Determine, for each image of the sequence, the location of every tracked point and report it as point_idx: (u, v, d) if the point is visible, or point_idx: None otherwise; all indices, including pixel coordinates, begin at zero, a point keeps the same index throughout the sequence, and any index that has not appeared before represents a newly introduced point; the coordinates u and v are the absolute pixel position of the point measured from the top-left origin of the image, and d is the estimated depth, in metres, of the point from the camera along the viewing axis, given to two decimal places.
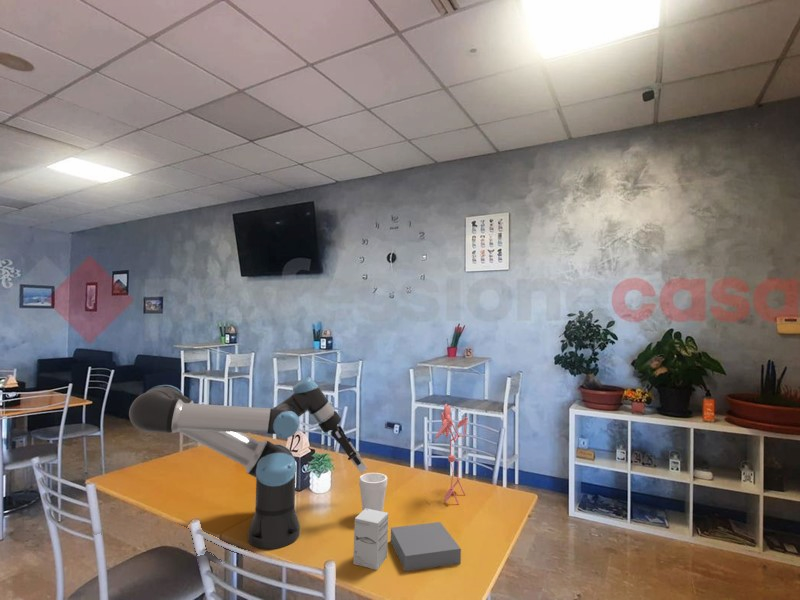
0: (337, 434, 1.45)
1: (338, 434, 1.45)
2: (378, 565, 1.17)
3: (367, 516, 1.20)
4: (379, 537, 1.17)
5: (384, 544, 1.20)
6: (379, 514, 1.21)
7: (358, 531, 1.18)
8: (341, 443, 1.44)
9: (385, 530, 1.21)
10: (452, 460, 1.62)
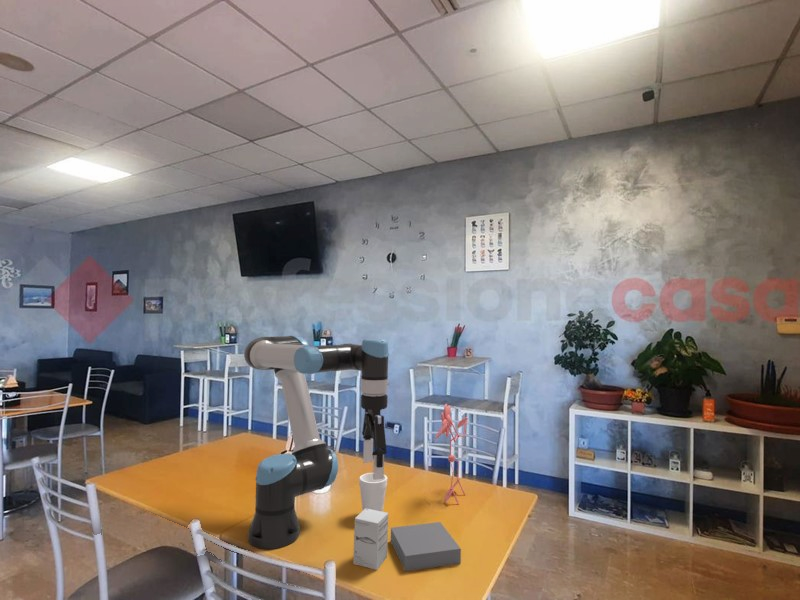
0: (379, 418, 1.16)
1: (380, 419, 1.16)
2: (378, 565, 1.17)
3: (367, 516, 1.20)
4: (379, 537, 1.17)
5: (384, 544, 1.20)
6: (379, 514, 1.21)
7: (358, 531, 1.18)
8: (377, 430, 1.14)
9: (385, 530, 1.21)
10: (452, 460, 1.62)
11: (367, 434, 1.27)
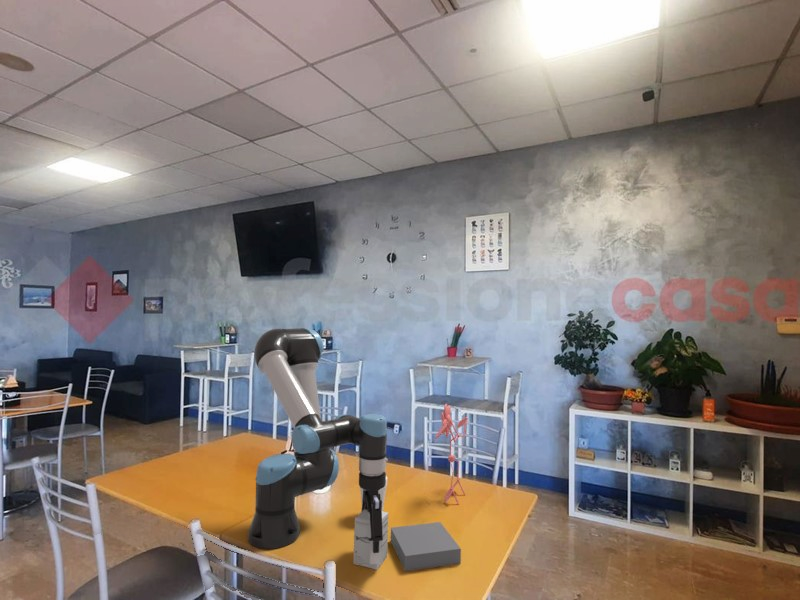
0: (376, 503, 1.14)
1: (377, 504, 1.14)
2: (378, 565, 1.17)
3: (367, 516, 1.20)
4: None
5: (384, 544, 1.20)
6: None
7: (358, 530, 1.18)
8: (374, 516, 1.14)
9: (385, 530, 1.21)
10: (452, 460, 1.62)
11: None
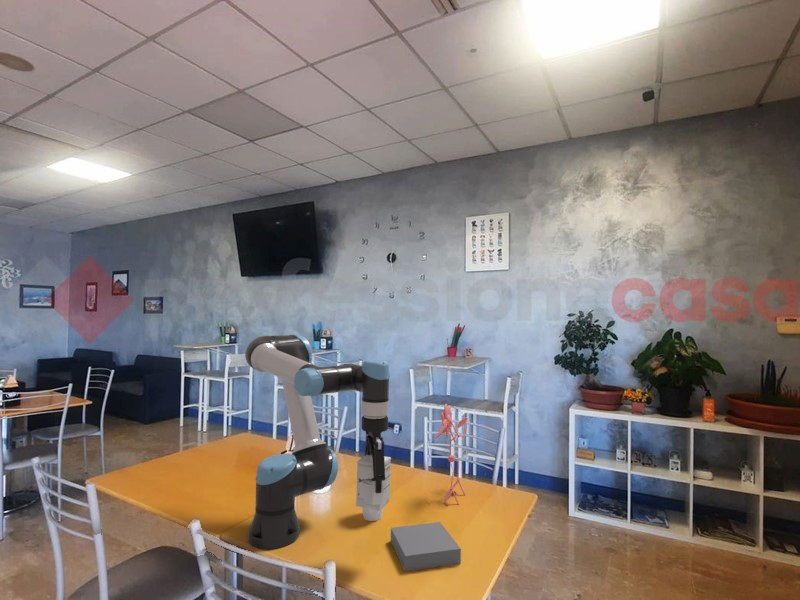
0: (379, 444, 1.15)
1: (380, 445, 1.15)
2: (381, 506, 1.17)
3: (369, 459, 1.20)
4: None
5: (387, 487, 1.21)
6: None
7: (361, 473, 1.19)
8: (377, 456, 1.14)
9: (387, 473, 1.21)
10: (452, 460, 1.62)
11: None
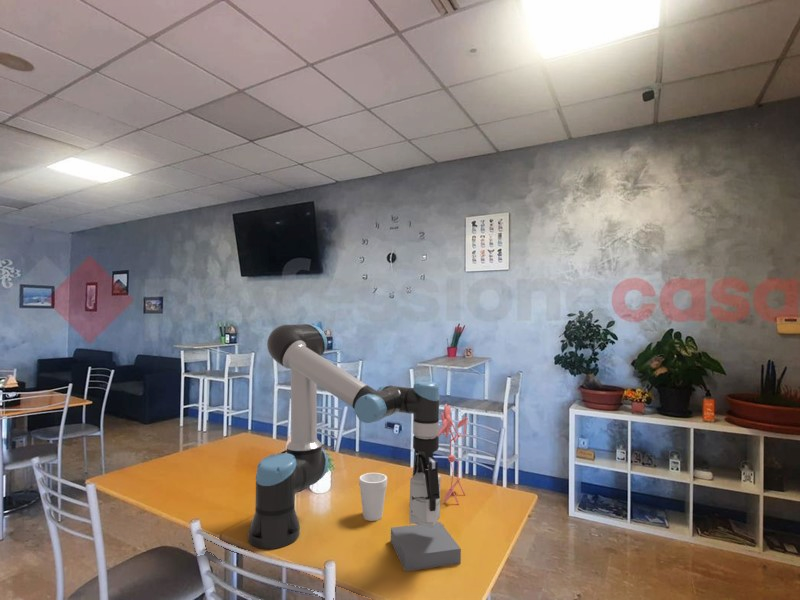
0: (433, 464, 1.20)
1: (434, 464, 1.20)
2: (434, 523, 1.22)
3: (421, 477, 1.25)
4: None
5: (438, 504, 1.26)
6: None
7: (414, 491, 1.23)
8: (431, 476, 1.19)
9: None
10: (452, 460, 1.62)
11: None
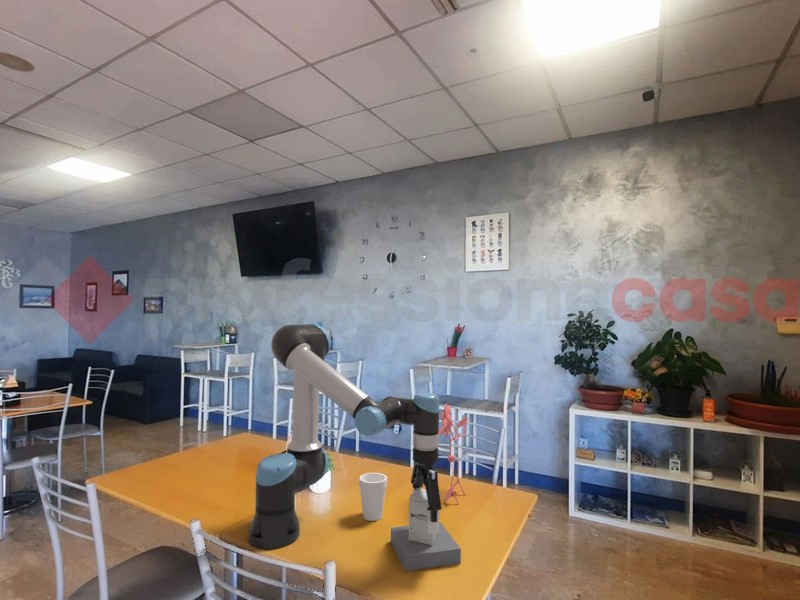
0: (433, 474, 1.20)
1: (433, 474, 1.20)
2: (433, 541, 1.22)
3: (420, 494, 1.25)
4: None
5: None
6: None
7: (413, 508, 1.23)
8: (431, 486, 1.19)
9: None
10: (452, 460, 1.62)
11: (417, 484, 1.32)
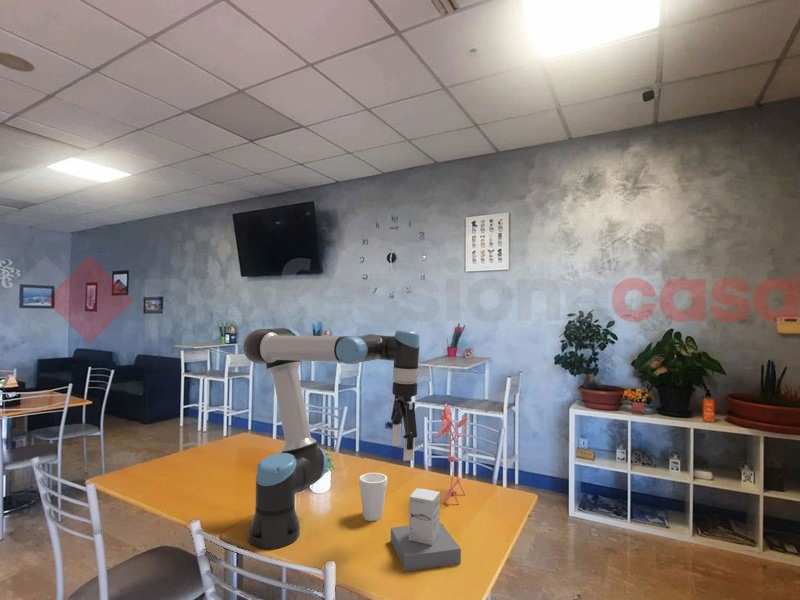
0: (410, 404, 1.24)
1: (411, 405, 1.24)
2: (433, 541, 1.22)
3: (420, 494, 1.25)
4: (433, 513, 1.22)
5: (437, 521, 1.26)
6: (432, 493, 1.26)
7: (413, 508, 1.23)
8: (408, 415, 1.23)
9: (438, 508, 1.26)
10: (452, 460, 1.62)
11: (396, 419, 1.36)
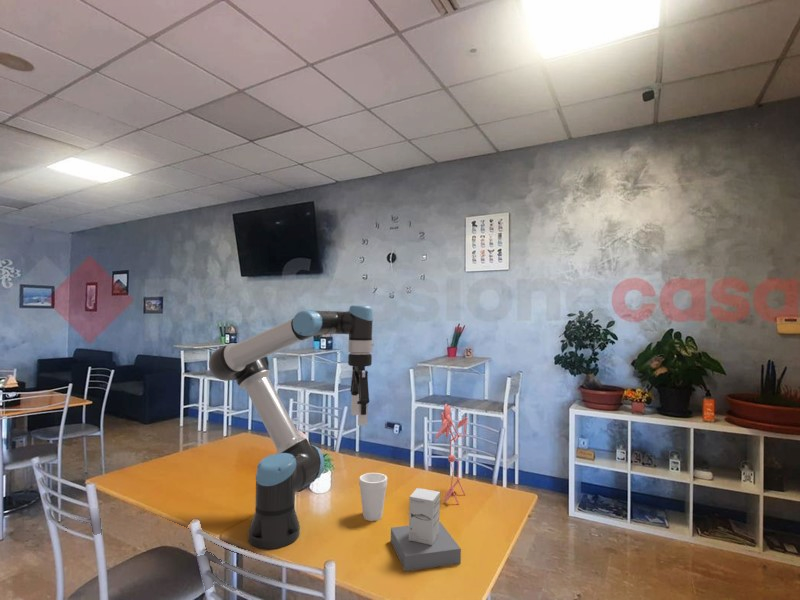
0: (363, 372, 1.33)
1: (364, 373, 1.33)
2: (433, 541, 1.22)
3: (420, 494, 1.25)
4: (433, 513, 1.22)
5: (437, 521, 1.26)
6: (432, 493, 1.26)
7: (413, 508, 1.23)
8: (361, 383, 1.31)
9: (438, 508, 1.26)
10: (452, 460, 1.62)
11: (354, 390, 1.45)
